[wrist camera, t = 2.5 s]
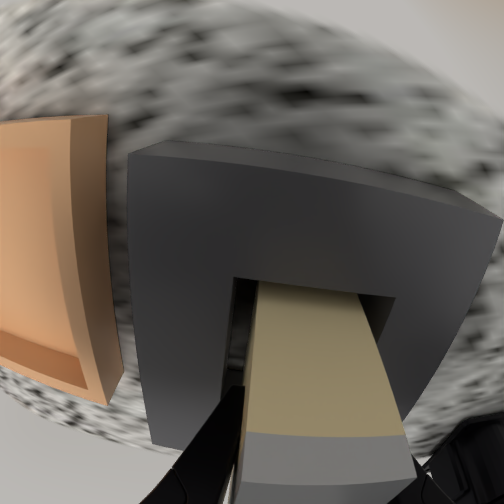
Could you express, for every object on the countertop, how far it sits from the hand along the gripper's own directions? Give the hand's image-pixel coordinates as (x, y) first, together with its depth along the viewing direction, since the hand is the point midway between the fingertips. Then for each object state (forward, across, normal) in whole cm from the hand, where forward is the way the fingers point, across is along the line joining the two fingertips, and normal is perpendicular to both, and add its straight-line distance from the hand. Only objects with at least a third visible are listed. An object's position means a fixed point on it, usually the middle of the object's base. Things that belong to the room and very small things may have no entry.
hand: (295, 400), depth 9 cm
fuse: (+4, 0, 0) cm, 4 cm away
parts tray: (+4, +13, -1) cm, 14 cm away
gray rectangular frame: (+4, 0, 0) cm, 4 cm away
